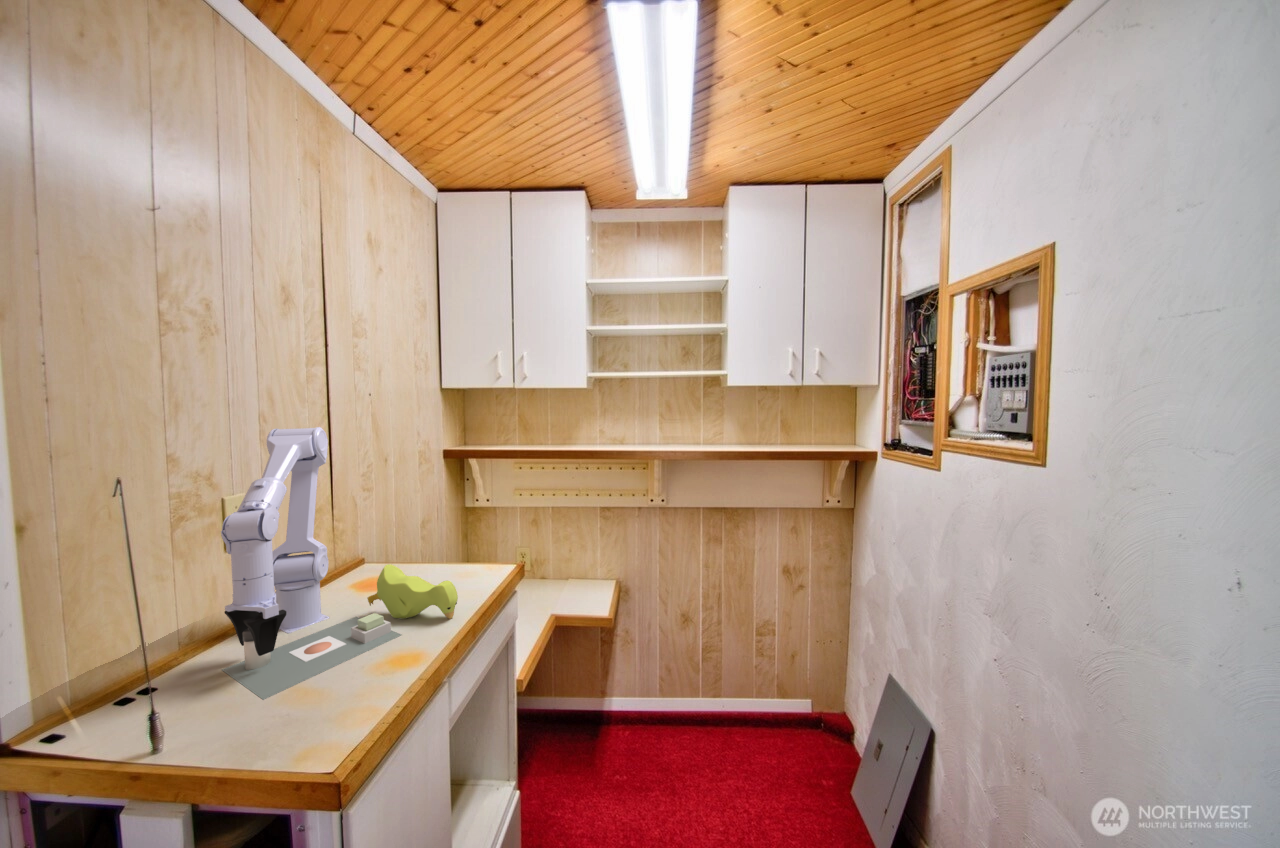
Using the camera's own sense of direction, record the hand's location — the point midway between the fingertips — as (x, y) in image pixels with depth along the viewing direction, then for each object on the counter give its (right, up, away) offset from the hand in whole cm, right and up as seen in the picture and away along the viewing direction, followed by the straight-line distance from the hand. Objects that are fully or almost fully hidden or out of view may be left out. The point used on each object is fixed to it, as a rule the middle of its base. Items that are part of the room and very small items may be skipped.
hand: (257, 647), depth 80 cm
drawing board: (+8, -3, +4) cm, 10 cm away
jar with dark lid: (0, -3, 0) cm, 3 cm away
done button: (+15, -1, +10) cm, 18 cm away
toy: (+19, -3, +19) cm, 27 cm away
